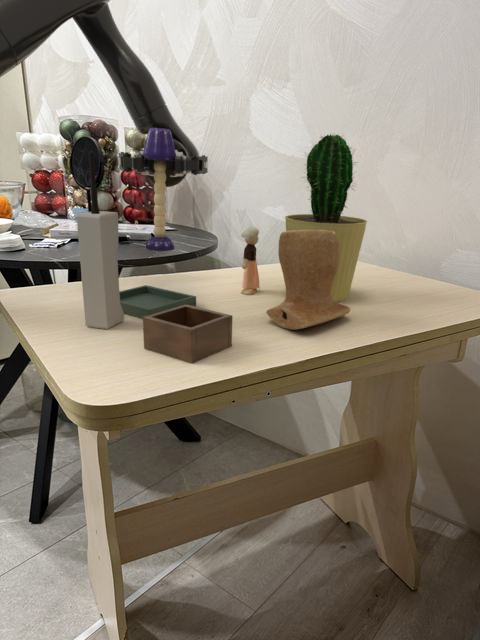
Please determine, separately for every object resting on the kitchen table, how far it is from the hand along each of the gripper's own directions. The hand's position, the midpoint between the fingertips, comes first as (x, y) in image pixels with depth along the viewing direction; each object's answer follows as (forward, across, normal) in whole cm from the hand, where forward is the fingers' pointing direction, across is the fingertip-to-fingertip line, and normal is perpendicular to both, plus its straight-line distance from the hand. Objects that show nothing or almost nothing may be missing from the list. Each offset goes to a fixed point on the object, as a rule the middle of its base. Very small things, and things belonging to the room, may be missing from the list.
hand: (158, 164), depth 71 cm
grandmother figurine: (-24, +15, +24) cm, 37 cm away
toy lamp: (-3, 0, +12) cm, 12 cm away
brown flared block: (-5, +23, +24) cm, 33 cm away
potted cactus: (-22, +29, +24) cm, 43 cm away
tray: (-12, -4, +24) cm, 27 cm away
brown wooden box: (+8, +4, +24) cm, 25 cm away
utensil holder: (-2, -9, +24) cm, 26 cm away
